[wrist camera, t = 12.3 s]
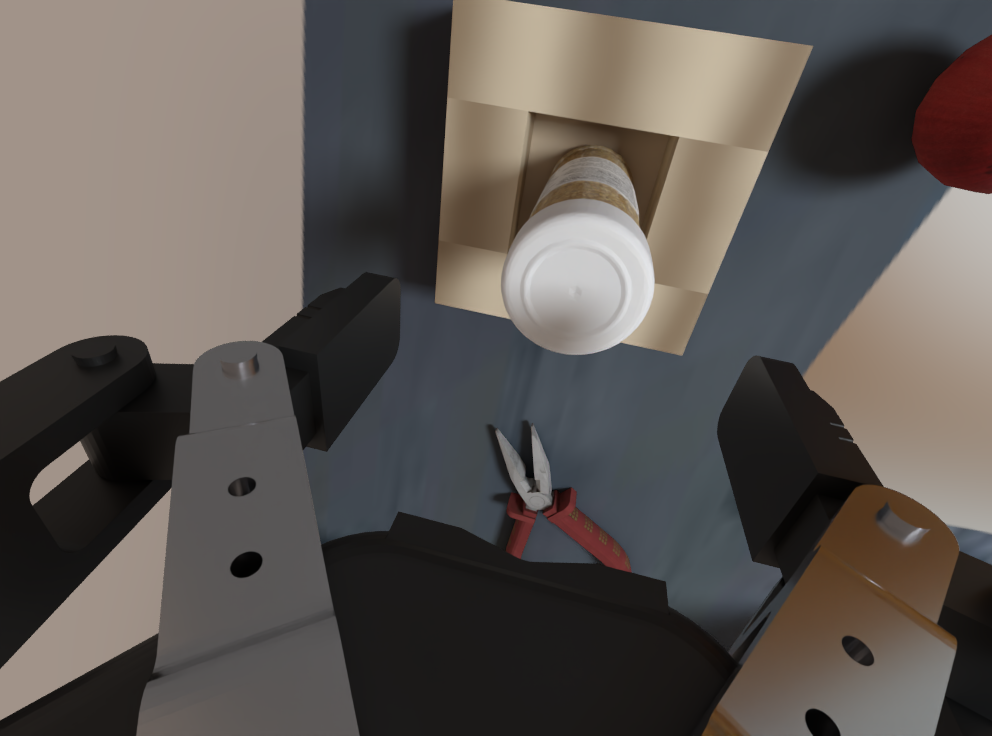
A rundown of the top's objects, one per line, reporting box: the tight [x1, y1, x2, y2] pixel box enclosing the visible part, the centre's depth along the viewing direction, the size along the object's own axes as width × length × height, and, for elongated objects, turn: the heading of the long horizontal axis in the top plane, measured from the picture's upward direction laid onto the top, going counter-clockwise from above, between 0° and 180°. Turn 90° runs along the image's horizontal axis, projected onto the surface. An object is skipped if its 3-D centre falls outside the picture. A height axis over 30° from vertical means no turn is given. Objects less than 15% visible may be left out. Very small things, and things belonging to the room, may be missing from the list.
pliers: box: [495, 423, 632, 573], centre depth 40 cm, size 12×20×3 cm, turn 18°
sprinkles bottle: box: [501, 145, 655, 355], centre depth 19 cm, size 5×5×14 cm
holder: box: [435, 0, 813, 355], centre depth 24 cm, size 14×14×4 cm
